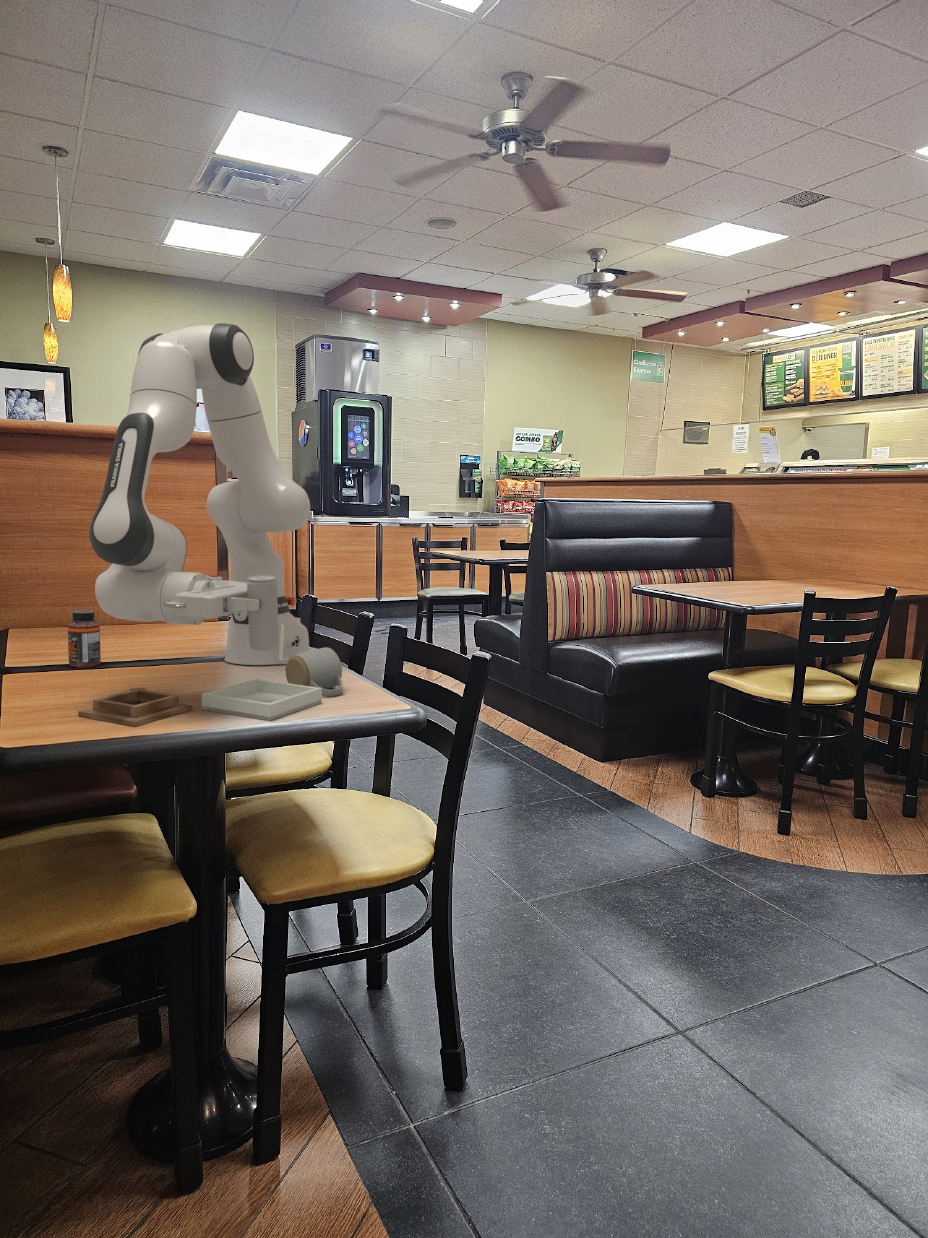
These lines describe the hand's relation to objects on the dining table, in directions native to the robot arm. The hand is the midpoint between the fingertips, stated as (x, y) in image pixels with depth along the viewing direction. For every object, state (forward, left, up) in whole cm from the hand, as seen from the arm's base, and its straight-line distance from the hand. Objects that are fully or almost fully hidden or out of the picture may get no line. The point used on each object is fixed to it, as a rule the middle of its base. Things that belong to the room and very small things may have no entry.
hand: (267, 602), depth 131 cm
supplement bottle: (-8, -53, -18) cm, 56 cm away
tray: (0, -1, -18) cm, 18 cm away
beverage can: (0, -1, -8) cm, 8 cm away
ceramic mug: (-14, +1, -18) cm, 23 cm away
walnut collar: (+14, -15, -18) cm, 27 cm away
